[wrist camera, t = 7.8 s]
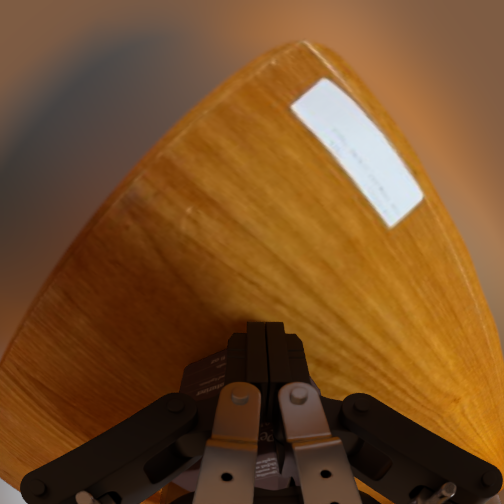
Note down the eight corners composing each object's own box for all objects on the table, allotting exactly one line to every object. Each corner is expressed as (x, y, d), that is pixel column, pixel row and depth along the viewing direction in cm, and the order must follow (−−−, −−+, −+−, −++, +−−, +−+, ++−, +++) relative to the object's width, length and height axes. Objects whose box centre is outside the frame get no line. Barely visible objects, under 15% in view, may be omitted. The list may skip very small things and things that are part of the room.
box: (278, 323, 15) (295, 445, 8) (321, 390, 17) (345, 491, 10) (182, 365, 16) (156, 474, 9) (237, 421, 18) (234, 516, 11)
